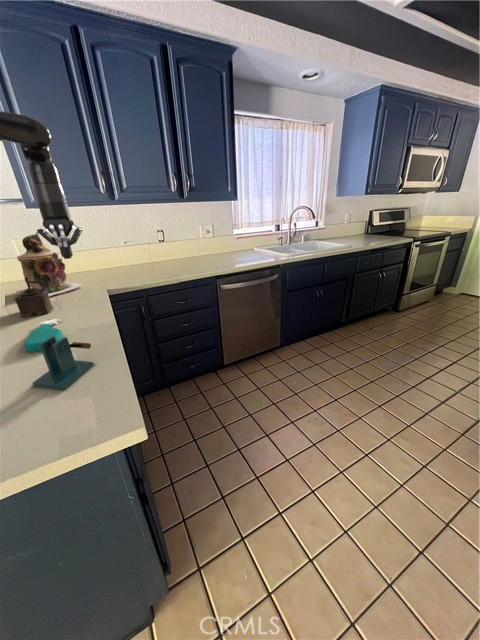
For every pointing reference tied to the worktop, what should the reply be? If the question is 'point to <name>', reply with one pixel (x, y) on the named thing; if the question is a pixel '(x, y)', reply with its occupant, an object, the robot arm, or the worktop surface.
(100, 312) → the worktop surface
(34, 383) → the teal lever stand
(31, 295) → the manual coffee grinder
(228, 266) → the worktop surface
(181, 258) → the worktop surface
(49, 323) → the spray bottle
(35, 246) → the cookie jar
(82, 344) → the lever handle
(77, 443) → the worktop surface
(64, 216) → the robot arm
